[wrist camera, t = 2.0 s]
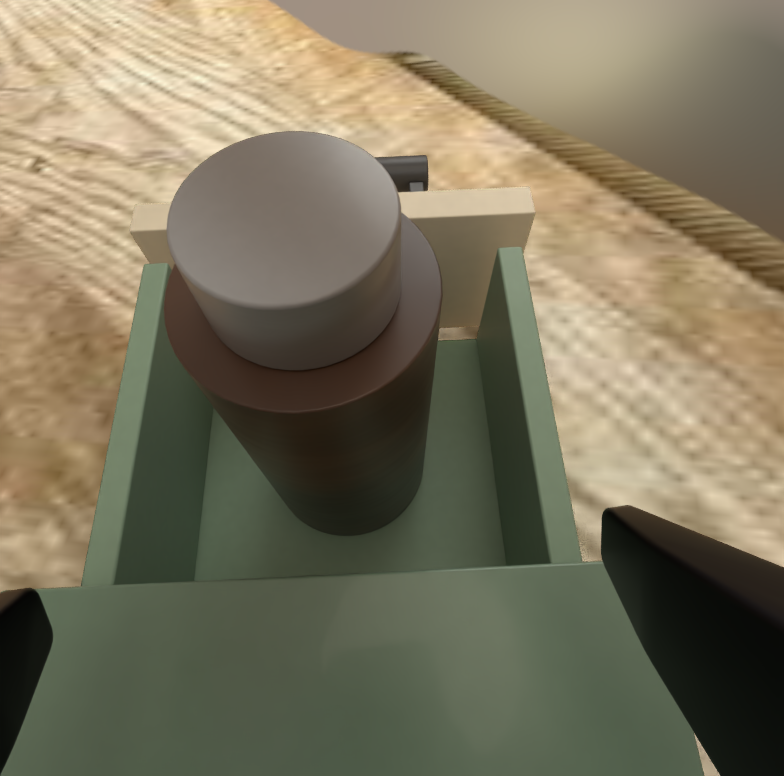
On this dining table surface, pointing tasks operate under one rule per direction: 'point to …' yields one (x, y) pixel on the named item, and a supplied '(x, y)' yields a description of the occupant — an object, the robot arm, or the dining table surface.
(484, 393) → the drawer
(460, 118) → the dining table surface
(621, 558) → the robot arm
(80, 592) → the cabinet
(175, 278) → the pepper mill
